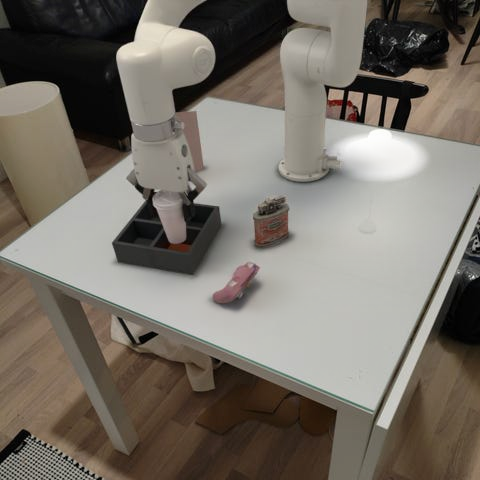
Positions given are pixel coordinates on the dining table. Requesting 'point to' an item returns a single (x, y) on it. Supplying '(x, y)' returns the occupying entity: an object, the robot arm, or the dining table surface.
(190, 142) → the greeting card
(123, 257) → the crate
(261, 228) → the lighter
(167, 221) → the smoothie
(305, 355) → the dining table surface
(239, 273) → the video game controller
